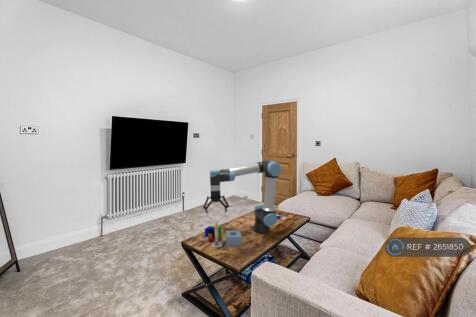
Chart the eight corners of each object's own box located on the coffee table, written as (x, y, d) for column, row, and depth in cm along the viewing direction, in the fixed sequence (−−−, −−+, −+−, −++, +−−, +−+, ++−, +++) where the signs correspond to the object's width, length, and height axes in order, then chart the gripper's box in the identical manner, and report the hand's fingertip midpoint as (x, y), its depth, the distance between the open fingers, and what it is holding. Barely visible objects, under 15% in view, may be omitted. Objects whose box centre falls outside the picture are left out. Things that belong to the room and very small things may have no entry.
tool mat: (221, 242, 179) (221, 241, 179) (222, 247, 171) (221, 246, 171) (211, 242, 179) (211, 242, 179) (211, 247, 171) (211, 247, 171)
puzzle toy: (205, 240, 182) (204, 228, 182) (211, 236, 191) (211, 224, 191) (215, 242, 178) (215, 230, 178) (221, 237, 187) (221, 226, 187)
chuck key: (218, 242, 179) (218, 222, 178) (218, 246, 171) (218, 226, 170) (215, 242, 179) (214, 222, 177) (214, 246, 171) (214, 226, 170)
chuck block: (240, 238, 185) (240, 230, 184) (241, 245, 173) (241, 236, 173) (221, 239, 184) (221, 231, 183) (221, 246, 172) (221, 237, 171)
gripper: (231, 188, 176) (232, 214, 178) (199, 189, 174) (200, 215, 176) (231, 190, 169) (232, 217, 170) (198, 192, 166) (200, 219, 168)
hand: (216, 216), depth 173 cm, fingers open, 13 cm apart
